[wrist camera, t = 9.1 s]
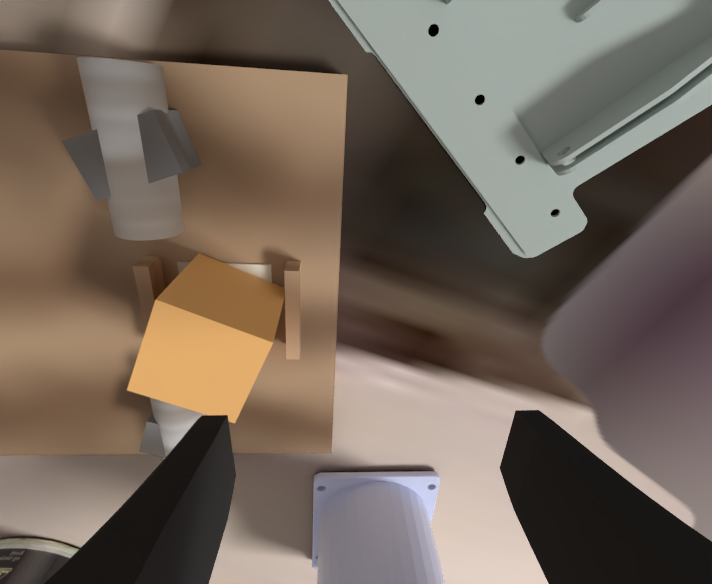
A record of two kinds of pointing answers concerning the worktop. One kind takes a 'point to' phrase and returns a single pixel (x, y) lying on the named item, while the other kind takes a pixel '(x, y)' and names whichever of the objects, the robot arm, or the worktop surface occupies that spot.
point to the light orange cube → (208, 338)
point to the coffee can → (31, 559)
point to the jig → (161, 241)
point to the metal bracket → (541, 91)
